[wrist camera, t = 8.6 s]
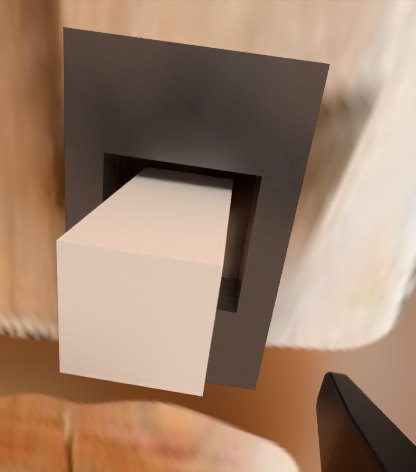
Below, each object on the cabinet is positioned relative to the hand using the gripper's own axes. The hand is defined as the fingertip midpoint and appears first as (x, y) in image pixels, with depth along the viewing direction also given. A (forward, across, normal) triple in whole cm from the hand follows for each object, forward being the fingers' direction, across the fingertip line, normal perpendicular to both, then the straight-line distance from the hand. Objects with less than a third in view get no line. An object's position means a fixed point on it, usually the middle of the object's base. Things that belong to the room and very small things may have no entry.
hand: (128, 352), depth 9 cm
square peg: (+10, 0, 0) cm, 10 cm away
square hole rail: (+10, 0, 0) cm, 10 cm away
